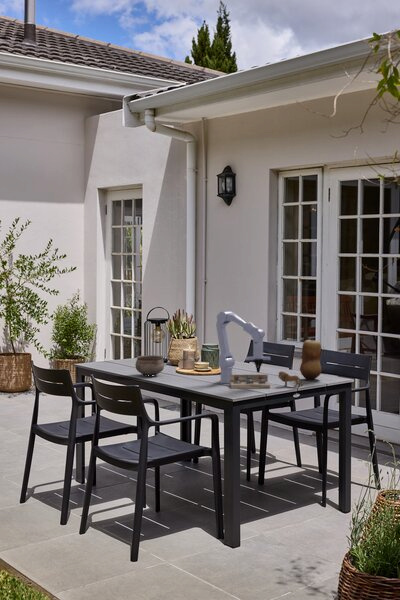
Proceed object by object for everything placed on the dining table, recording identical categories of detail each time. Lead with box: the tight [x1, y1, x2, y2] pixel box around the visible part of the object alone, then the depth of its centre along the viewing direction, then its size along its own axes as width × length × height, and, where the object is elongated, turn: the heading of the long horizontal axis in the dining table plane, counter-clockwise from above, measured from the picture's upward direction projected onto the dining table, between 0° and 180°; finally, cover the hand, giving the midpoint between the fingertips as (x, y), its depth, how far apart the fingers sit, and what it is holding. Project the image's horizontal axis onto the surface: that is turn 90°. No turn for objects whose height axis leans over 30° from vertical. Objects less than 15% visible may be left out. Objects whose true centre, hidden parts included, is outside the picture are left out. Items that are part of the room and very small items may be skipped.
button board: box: [229, 374, 271, 389], centre depth 476 cm, size 14×23×6 cm, turn 92°
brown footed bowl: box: [135, 354, 165, 377], centre depth 517 cm, size 25×19×12 cm
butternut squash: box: [299, 339, 322, 381], centre depth 502 cm, size 14×13×25 cm
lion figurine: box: [278, 370, 304, 388], centre depth 476 cm, size 15×5×9 cm, turn 81°
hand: (258, 372), depth 476 cm, fingers closed
